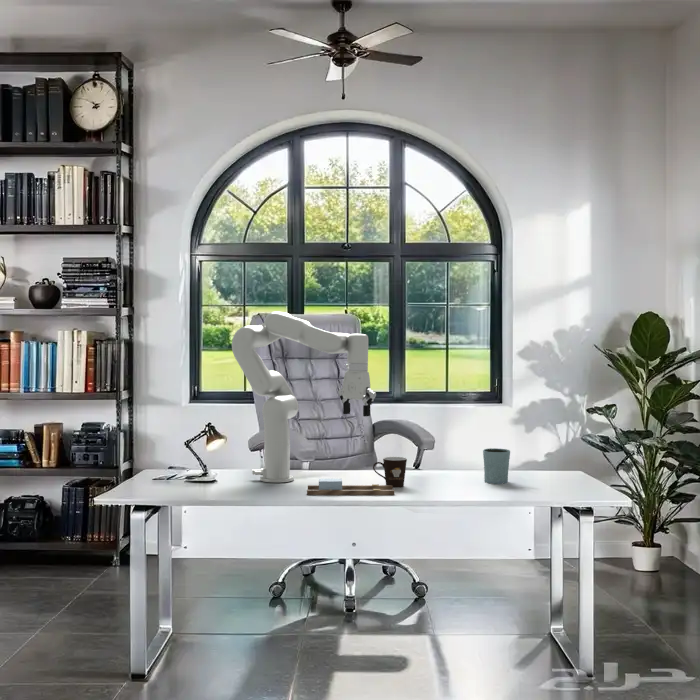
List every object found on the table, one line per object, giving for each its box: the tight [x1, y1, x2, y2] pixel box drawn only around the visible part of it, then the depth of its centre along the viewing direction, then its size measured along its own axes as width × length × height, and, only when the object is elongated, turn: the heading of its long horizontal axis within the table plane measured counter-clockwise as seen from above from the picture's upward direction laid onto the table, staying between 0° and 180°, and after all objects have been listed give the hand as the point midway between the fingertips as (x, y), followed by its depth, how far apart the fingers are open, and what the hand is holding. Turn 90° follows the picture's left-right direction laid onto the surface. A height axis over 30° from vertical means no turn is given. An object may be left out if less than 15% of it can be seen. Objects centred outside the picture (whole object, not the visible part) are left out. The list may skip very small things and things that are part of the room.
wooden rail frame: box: [306, 483, 395, 496], centre depth 316 cm, size 30×10×2 cm, turn 91°
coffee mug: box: [372, 456, 408, 488], centre depth 329 cm, size 12×9×10 cm
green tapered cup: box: [482, 447, 511, 485], centre depth 338 cm, size 10×10×12 cm
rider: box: [318, 477, 343, 490], centre depth 315 cm, size 8×6×4 cm
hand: (356, 415), depth 328 cm, fingers open, 9 cm apart
